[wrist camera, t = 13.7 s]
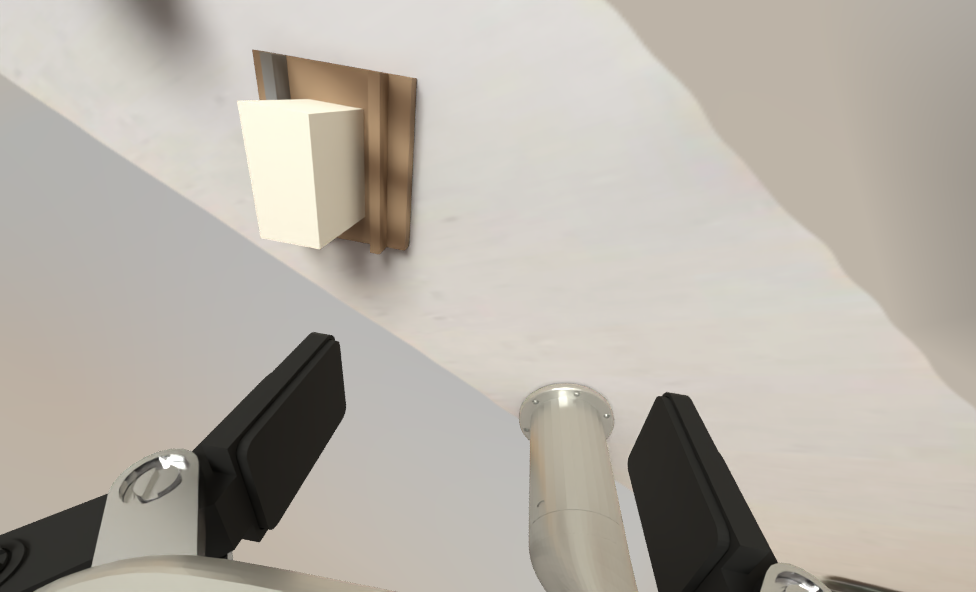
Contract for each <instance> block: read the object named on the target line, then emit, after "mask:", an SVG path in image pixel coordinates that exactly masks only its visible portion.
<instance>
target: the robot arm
mask: <svg viewBox="0 0 976 592" xmlns="http://www.w3.org/2000/svg"><path fill="white" fill-rule="evenodd" d="M345 410H346V401H345V391H344V381H343V371H342V361H341V351H340V344H339V342H338V341H335V338H334V337H333V336H332V335H327V334H321V333H316V332H313V333H311V334H309V335H308V336H307V337H306V339H305V340H303V341H302V342H301V344H299V346H298V347H297V348H295V350H294V351H293V352H292V353H291V354H290V355H289V356H288V357H287V358H286V359H285V360H284V361H283V362H282V363H281V364H280V365H279V366H278V367H277V368H276V369H275V370H274V371H273V372H272V373H270V374H269V375H268V376H266V377H265V378H264V379H263V380H262V381H261V382H260V383H259V384H258V385H257V386H256V387H255V389H254V390H252V391H251V392H250V393H249V394H248V396H247V397H245V399H243V400H242V401H241V402H240V404H239V405H238V406H237V407H236V408H235V409H234V410H233V411H232V412H231V413H230V414H229V415H228V416H227V417H226V418H225V419H224V420H223V421H222V422H221V423H220V424H219V425H218V426H217V427H216V428H215V429H214V430H213V431H212V432H211V433H210V434H209V435H208V436H207V437H206V438H205V439H204V440H203V441H202V442H201V443H200V444H199V445H198V446H197V447H196V448H195V449H194V450H193V451H189V450H185V449H169V450H164V451H160V452H157V453H154V454H152V455H149V456H147V457H145V458H143V459H141V460H140V461H138V462H136V463H134V464H133V465H131V466H130V467H129V468H128V469H126V470H125V471H124V472H123V473H122V474H121V475H120V476H119V477H118V478H117V479H116V481H115V482H114V483H113V484H112V486H111V489H110V491H109V493H108V494H106V495H103V496H100V497H98V498H95V499H93V500H90V501H88V502H85V503H82V504H80V505H77V506H75V507H72V508H69V509H67V510H64V511H62V512H59V513H57V514H54V515H51V516H49V517H46V518H44V519H41V520H38V521H36V522H33V523H31V524H28V525H25V526H23V527H21V528H18V529H15V530H12V531H10V532H7V533H5V534H2V535H0V592H396V591H390V590H386V589H381V588H376V587H370V586H366V585H361V584H356V583H351V582H346V581H341V580H335V579H331V578H325V577H320V576H315V575H310V574H305V573H300V572H295V571H290V570H284V569H279V568H273V567H267V566H262V565H256V564H250V563H245V562H239V561H233V555H232V551H233V550H235V548H236V546H237V545H238V544H239V542H240V541H241V539H245V540H250V541H256V542H260V541H261V540H262V538H263V536H264V535H265V533H266V532H267V530H268V529H269V530H272V529H274V528H275V527H276V525H277V524H278V523H279V521H280V520H281V518H282V516H283V515H284V513H285V511H286V510H287V508H288V507H289V505H290V503H291V502H292V500H293V498H294V497H295V495H296V494H297V492H298V490H299V488H300V487H301V485H302V484H303V482H304V480H305V479H306V477H307V476H308V474H309V472H310V471H311V469H312V468H313V466H314V464H315V463H316V461H317V459H318V458H319V456H320V454H321V453H322V451H323V450H324V448H325V446H326V445H327V443H328V442H329V440H330V438H331V437H332V435H333V433H334V432H335V430H336V429H337V427H338V425H339V424H340V422H341V420H342V419H343V417H344V414H345ZM519 423H520V427H521V430H522V432H523V433H524V435H525V436H526V437H527V438H528V440H530V491H529V494H530V495H529V553H530V558H531V562H532V565H533V569H534V571H535V573H536V575H537V577H538V579H539V581H540V583H541V584H542V586H543V587H544V589H545V590H546V592H638V590H637V586H636V582H635V577H634V573H633V569H632V564H631V560H630V555H629V550H628V545H627V541H626V536H625V531H624V526H623V521H622V516H621V511H620V506H619V502H618V497H617V492H616V486H615V482H614V477H613V472H612V467H611V462H610V457H609V452H608V447H607V442H606V439H607V438H608V437H609V435H610V434H611V432H612V429H613V426H614V417H613V412H612V409H611V407H610V404H609V403H608V402H607V400H606V399H605V398H604V397H603V396H602V395H601V394H599V393H598V392H596V391H594V390H593V389H590V388H588V387H585V386H581V385H577V384H568V383H563V384H554V385H549V386H546V387H543V388H540V389H538V390H537V391H535V392H533V393H532V394H531V395H529V396H528V397H527V398H526V400H525V401H524V402H523V404H522V406H521V408H520V414H519ZM628 472H629V476H630V480H631V484H632V488H633V492H634V496H635V500H636V504H637V508H638V512H639V516H640V520H641V524H642V528H643V532H644V536H645V540H646V544H647V548H648V552H649V556H650V560H651V564H652V568H653V572H654V576H655V580H656V584H657V588H658V592H831V590H830V589H829V588H828V587H826V586H825V585H824V584H823V583H822V582H821V581H819V580H818V579H817V578H816V577H814V576H813V575H811V574H810V573H808V572H806V571H805V570H803V569H801V568H799V567H796V566H794V565H791V564H787V563H778V562H777V560H776V558H775V556H774V554H773V552H772V550H771V549H770V547H769V545H768V543H767V541H766V539H765V537H764V535H763V533H762V531H761V530H760V528H759V526H758V524H757V522H756V520H755V518H754V516H753V514H752V512H751V510H750V509H749V507H748V505H747V503H746V501H745V499H744V497H743V495H742V493H741V491H740V490H739V488H738V486H737V484H736V482H735V480H734V478H733V476H732V474H731V472H730V470H729V469H728V467H727V465H726V463H725V461H724V459H723V457H722V456H721V454H720V453H719V452H718V450H717V448H716V446H715V444H714V442H713V440H712V439H711V437H710V435H709V433H708V431H707V429H706V427H705V425H704V423H703V421H702V419H701V417H700V416H699V414H698V412H697V410H696V408H695V406H694V404H693V402H692V400H691V399H690V397H688V396H686V395H681V394H675V393H669V392H666V393H664V394H663V396H658V397H657V398H656V399H655V402H654V404H653V406H652V408H651V410H650V412H649V414H648V417H647V419H646V421H645V423H644V425H643V427H642V430H641V432H640V434H639V436H638V438H637V440H636V442H635V445H634V447H633V449H632V451H631V453H630V455H629V458H628Z"/></svg>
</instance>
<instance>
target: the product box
mask: <svg viewBox="0 0 976 592" xmlns="http://www.w3.org/2000/svg"><path fill="white" fill-rule="evenodd" d="M237 103H238V109H239V115H240V121H241V127H242V132H243V138H244V144H245V150H246V156H247V161H248V167H249V173H250V179H251V185H252V191H253V196H254V202H255V208H256V214H257V220H258V225H259V231H260V237H261V238H264V239H269V240H274V241H279V242H284V243H289V244H295V245H300V246H305V247H310V248H315V249H321V248H323V247H324V246H325V245H327V244H328V243H329V242H331V241H332V240H334V239H335V238H336V237H338V236H339V235H341V234H342V233H343V232H345V231H346V230H347V229H349V228H350V227H352V226H353V225H354V224H356V223H357V222H358V221H360V220H361V219H363V218H364V217H365V184H364V123H363V109H360V108H355V107H349V106H344V105H338V104H333V103H327V102H322V101H317V100H311V99H292V100H252V101H237Z"/></svg>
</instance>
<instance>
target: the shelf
mask: <svg viewBox="0 0 976 592" xmlns="http://www.w3.org/2000/svg"><path fill="white" fill-rule="evenodd" d="M252 51H253V58H254V65H255V72H256V79H257V85H258V92H259V99H260V100H292V99H311V100H317V101H322V102H327V103H333V104H338V105H344V106H349V107H355V108H360V109H363V123H364V184H365V217H364V218H363V219H361V220H360V221H358V222H357V223H356V224H354V225H353V226H352V227H350V228H349V229H347V230H346V231H345V232H343V233H342V234H341V235H339V236H338V237H336V238H341V239H346V240H352V241H357V242H362V243H368V244H370V253H375V254H380V253H381V252H382V251H383V250H384V249H385V248H386V247H389V248H394V249H399V250H404V251H405V250H406V249H407V247H408V246H409V237H410V215H411V193H412V171H413V149H414V127H415V105H416V83H417V79H416V78H411V77H405V76H400V75H394V74H388V73H383V72H377V71H371V70H366V69H360V68H355V67H349V66H343V65H338V64H332V63H327V62H321V61H315V60H310V59H304V58H298V57H293V56H287V55H282V54H276V53H270V52H265V51H258V50H252Z"/></svg>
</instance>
